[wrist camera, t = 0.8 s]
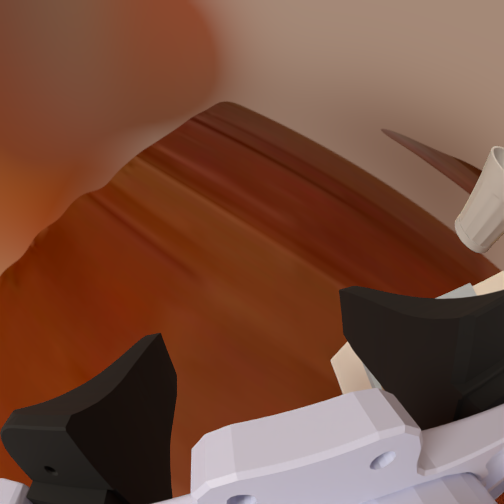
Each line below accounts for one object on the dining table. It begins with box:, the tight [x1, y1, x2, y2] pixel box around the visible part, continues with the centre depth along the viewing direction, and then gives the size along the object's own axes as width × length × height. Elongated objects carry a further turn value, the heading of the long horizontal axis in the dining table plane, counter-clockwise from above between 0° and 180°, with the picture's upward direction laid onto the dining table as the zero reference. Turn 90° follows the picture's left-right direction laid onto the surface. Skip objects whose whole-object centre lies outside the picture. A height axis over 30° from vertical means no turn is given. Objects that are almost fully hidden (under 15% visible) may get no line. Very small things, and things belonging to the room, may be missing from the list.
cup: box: [455, 146, 504, 253], centre depth 29 cm, size 8×8×12 cm
